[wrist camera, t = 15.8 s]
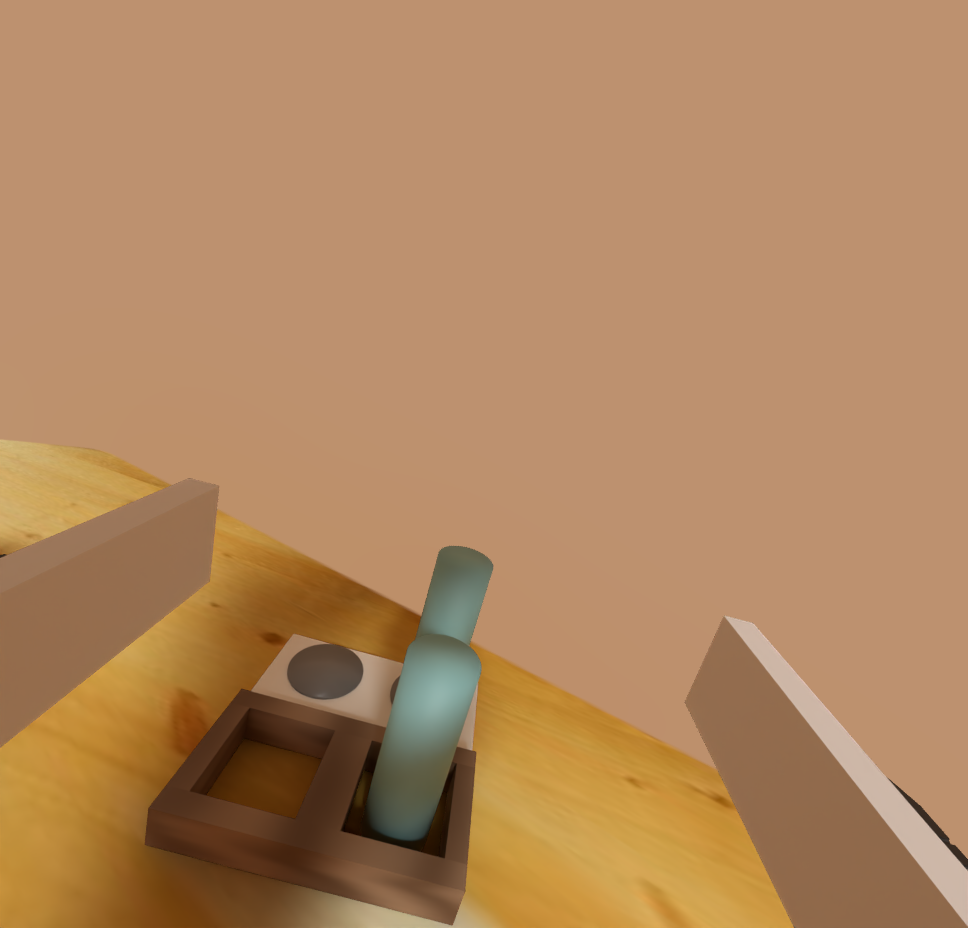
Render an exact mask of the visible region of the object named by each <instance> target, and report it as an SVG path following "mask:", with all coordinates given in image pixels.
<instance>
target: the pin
mask: <svg viewBox="0 0 968 928" xmlns="http://www.w3.org/2000/svg"><path fill="white" fill-rule="evenodd" d="M492 571H493V564H492V562H491V561H490V559H489V558H488V557H486V556H485V555H484V554H482V553H480V552H478V551H476V550H473V549H470V548H467V547H461V546H448V547H444V548H443V549H441V550H440V551H439V554H438V557H437V561H436V565H435V569H434V572H433V576H432V579H431V583H430V587H429V590H428V594H427V598H426V601H425V605H424V609H423V612H422V616H421V620H420V624H419V627H418V631H417V635H416V638H415V639H417V638H419V637H421V636H425V635H430V634H441V635H447V636H450V637H454V638H456V639H458V640H460V641H462V642H464V643H465V644H467V645H468V646H469V645H470V642H471V638H472V635H473V632H474V628H475V625H476V622H477V619H478V616H479V612H480V609H481V606H482V603H483V599H484V596H485V593H486V590H487V587H488V583H489V580H490V577H491V574H492Z"/></svg>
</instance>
